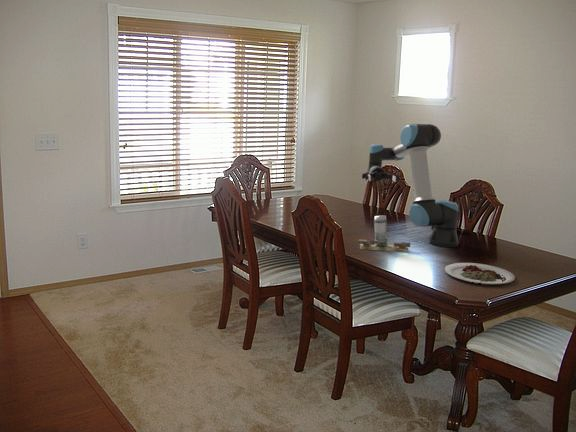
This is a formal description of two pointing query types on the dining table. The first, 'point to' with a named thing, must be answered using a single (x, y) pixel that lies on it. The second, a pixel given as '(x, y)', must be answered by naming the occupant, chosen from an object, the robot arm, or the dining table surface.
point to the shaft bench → (396, 247)
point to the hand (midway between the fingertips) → (382, 179)
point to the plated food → (479, 273)
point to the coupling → (380, 230)
